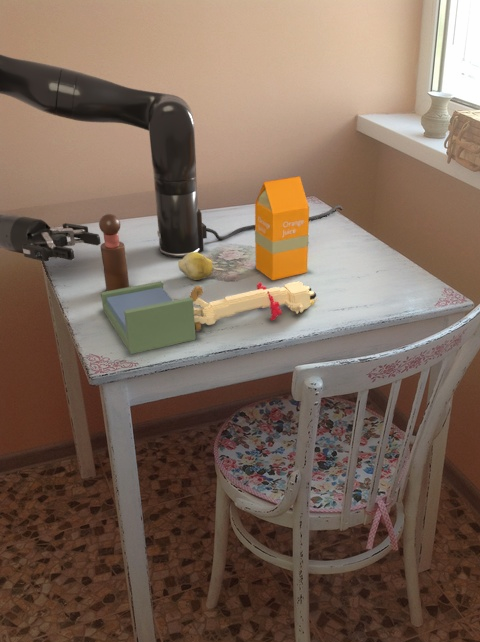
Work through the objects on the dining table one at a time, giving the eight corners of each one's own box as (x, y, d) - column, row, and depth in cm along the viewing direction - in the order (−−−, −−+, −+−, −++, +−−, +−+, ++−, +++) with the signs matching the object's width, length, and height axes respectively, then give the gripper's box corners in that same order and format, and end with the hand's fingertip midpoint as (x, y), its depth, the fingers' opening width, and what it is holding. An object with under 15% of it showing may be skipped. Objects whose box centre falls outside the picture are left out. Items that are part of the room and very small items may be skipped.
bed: (162, 299, 140) (159, 262, 136) (195, 339, 126) (193, 299, 122) (103, 311, 135) (97, 272, 131) (131, 354, 122) (125, 313, 117)
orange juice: (307, 272, 152) (310, 180, 141) (272, 280, 148) (273, 187, 137) (289, 260, 158) (290, 171, 147) (254, 267, 154) (253, 176, 143)
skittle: (126, 285, 145) (116, 209, 137) (132, 293, 142) (123, 216, 133) (104, 289, 144) (93, 212, 135) (110, 298, 140) (99, 220, 131)
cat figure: (200, 343, 128) (326, 312, 134) (194, 300, 123) (324, 271, 129) (187, 319, 135) (306, 291, 142) (180, 278, 130) (304, 251, 137)
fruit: (228, 280, 148) (182, 281, 144) (218, 277, 153) (174, 278, 149) (228, 252, 147) (182, 252, 143) (218, 251, 152) (174, 251, 148)
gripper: (-7, 228, 138) (60, 241, 133) (41, 207, 149) (105, 218, 144) (1, 264, 142) (67, 277, 137) (47, 240, 153) (109, 252, 148)
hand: (86, 247), depth 140 cm, fingers open, 8 cm apart
